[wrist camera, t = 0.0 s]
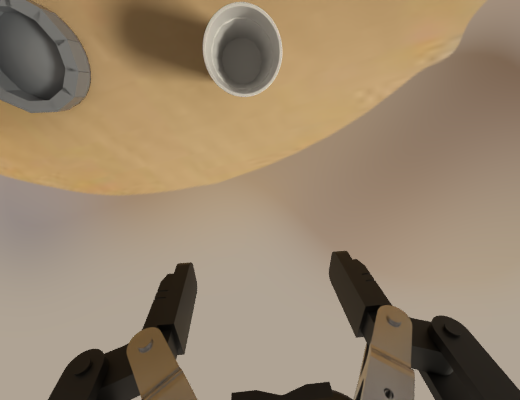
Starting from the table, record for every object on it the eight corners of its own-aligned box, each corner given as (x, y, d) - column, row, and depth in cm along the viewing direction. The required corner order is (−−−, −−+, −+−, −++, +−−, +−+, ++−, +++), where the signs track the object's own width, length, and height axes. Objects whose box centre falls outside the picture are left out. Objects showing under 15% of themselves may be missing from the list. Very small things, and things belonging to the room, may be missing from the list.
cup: (227, 100, 35) (222, 107, 25) (205, 41, 31) (188, 21, 21) (275, 81, 35) (291, 81, 24) (258, 19, 31) (268, -13, 20)
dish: (-44, -2, 27) (-75, -11, 25) (67, -3, 28) (49, -12, 25) (14, 111, 34) (-6, 114, 31) (104, 108, 34) (92, 110, 32)
